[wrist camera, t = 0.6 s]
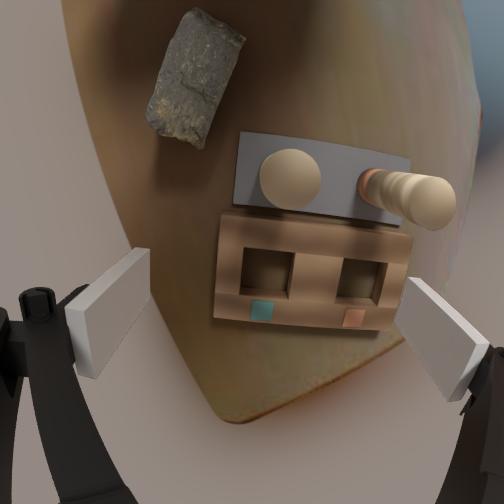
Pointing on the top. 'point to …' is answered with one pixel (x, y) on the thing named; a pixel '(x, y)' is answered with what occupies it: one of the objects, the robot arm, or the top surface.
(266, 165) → the peg
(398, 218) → the mat
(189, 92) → the rock
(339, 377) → the top surface
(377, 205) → the peg
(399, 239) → the socket board
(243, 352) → the top surface
